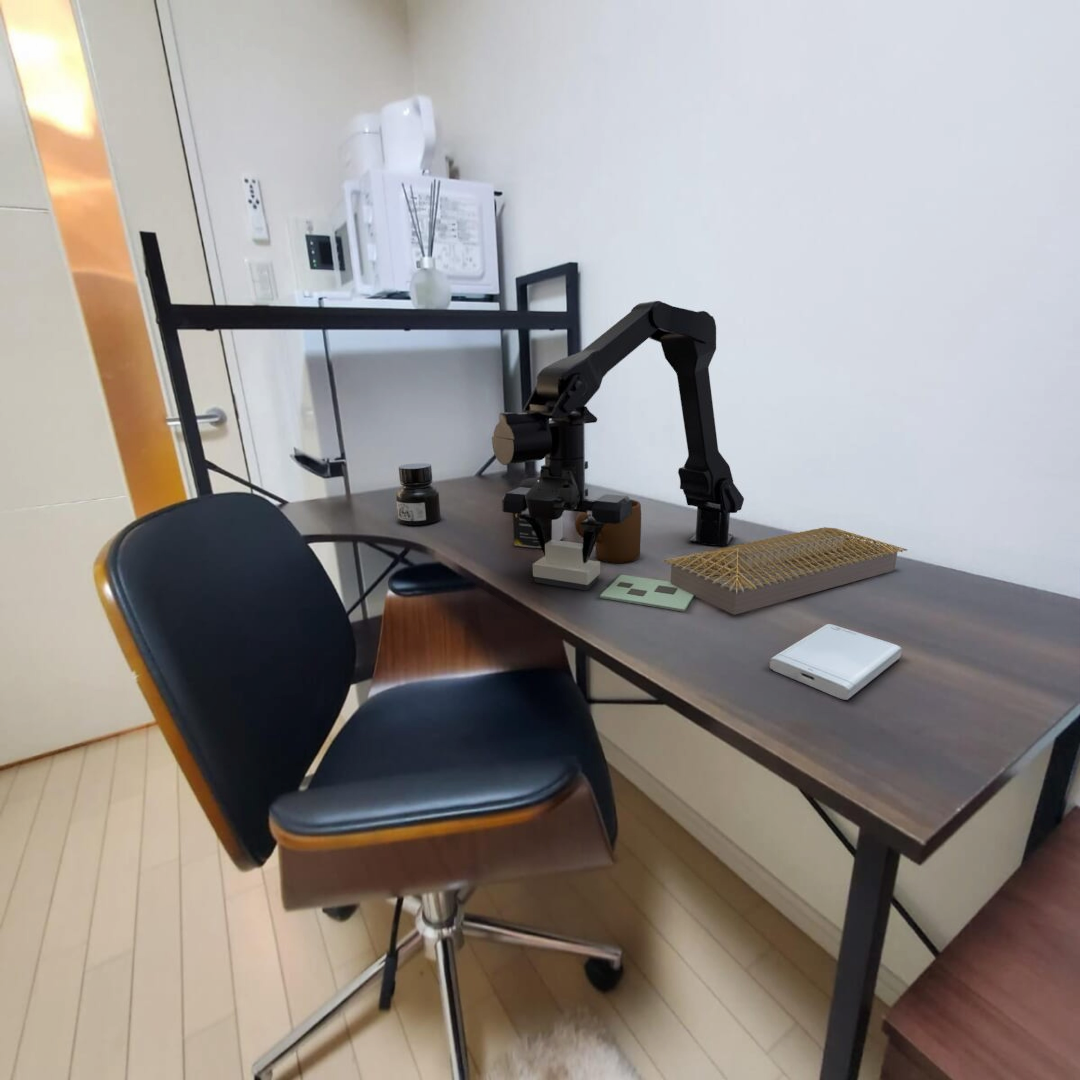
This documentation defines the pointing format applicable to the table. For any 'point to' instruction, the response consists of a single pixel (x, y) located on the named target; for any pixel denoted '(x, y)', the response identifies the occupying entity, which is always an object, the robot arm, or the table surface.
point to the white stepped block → (566, 566)
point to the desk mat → (648, 593)
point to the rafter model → (789, 548)
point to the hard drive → (836, 660)
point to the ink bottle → (417, 495)
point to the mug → (617, 537)
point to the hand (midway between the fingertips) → (566, 559)
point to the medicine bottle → (524, 530)
